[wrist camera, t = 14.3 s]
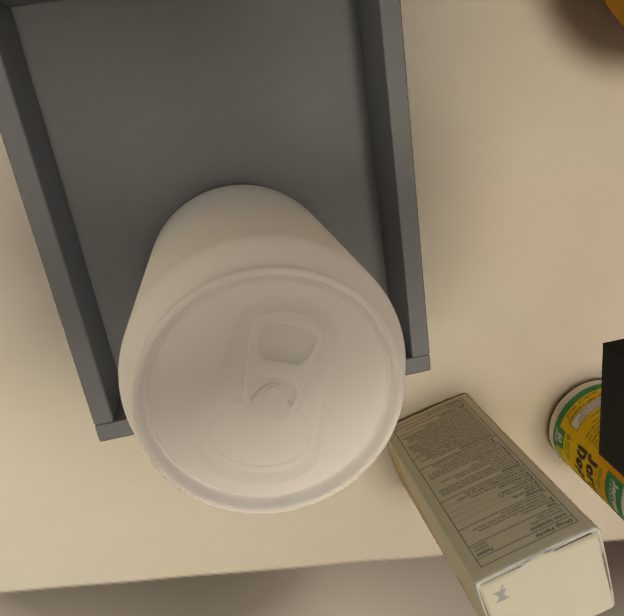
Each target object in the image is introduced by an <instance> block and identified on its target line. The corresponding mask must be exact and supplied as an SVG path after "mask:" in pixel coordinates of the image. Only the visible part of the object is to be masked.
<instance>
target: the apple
mask: <svg viewBox="0 0 624 616" xmlns="http://www.w3.org/2000/svg"><path fill="white" fill-rule="evenodd" d="M604 2H605V3H606V5H607V6H608V8H609V9H610V11H611V12H612V13H613V14H614V16H615V17H616V18H617V20H618V21H619V22H620V23H621V25H622V26H623V27H624V0H604Z"/></svg>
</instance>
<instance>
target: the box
mask: <svg viewBox="0 0 624 616" xmlns="http://www.w3.org/2000/svg"><path fill="white" fill-rule="evenodd" d="M387 444H388V447H389V450H390V452H391V455H392V458H393V460H394V463H395V465H396V468H397V470H398V473H399V475H400V478H401V480H402V482H403V484H404V486H405V488H406V490H407V492H408V494H409V495H410V497H411V499H412V500H413V502H414V504H415V505H416V507H417V509H418V511H419V513H420V514H421V516H422V518H423V520H424V521H425V523H426V525H427V526H428V528H429V530H430V532H431V533H432V535H433V537H434V538H435V540H436V542H437V544H438V545H439V547H440V549H441V551H442V552H443V554H444V556H445V558H446V559H447V561H448V563H449V564H450V566H451V568H452V570H453V572H454V573H455V575H456V577H457V579H458V580H459V582H460V584H461V586H462V587H463V589H464V591H465V593H466V595H467V596H468V598H469V600H470V601H471V603H472V605H473V607H474V608H475V610H476V612H477V613H478V615H479V616H595V615H597V614H599V613H602V612H604V611H606V610H608V609H610V608H612V607H613V606H614V596H613V590H612V585H611V579H610V574H609V569H608V564H607V559H606V554H605V549H604V545H603V540H602V536H601V531H600V529H599V528H598V527H597V526H596V525H595V524H594V523H593V522H592V521H591V520H590V519H589V518H588V517H587V516H586V515H585V514H584V513H583V512H582V511H581V510H580V509H579V508H578V507H577V506H576V505H575V504H574V503H573V502H572V501H571V500H570V499H569V498H568V497H567V496H566V495H565V494H564V493H563V492H562V491H561V490H560V489H559V488H558V487H557V486H556V485H555V484H554V483H553V482H552V481H551V479H550V478H549V477H548V476H547V475H546V474H545V473H544V472H543V471H542V470H541V469H540V468H539V467H538V466H537V465H536V464H535V463H534V462H533V461H532V460H531V459H530V458H529V457H528V456H527V455H526V454H525V453H524V452H523V451H522V450H521V449H520V448H519V447H518V446H517V445H516V444H515V443H514V442H513V441H512V440H511V439H510V438H509V437H508V436H507V435H506V434H505V433H504V432H503V431H502V429H501V428H500V427H499V426H498V425H497V424H496V423H495V422H494V421H493V420H492V419H491V418H490V417H489V416H488V415H487V414H486V413H485V412H484V411H483V410H482V409H481V408H480V407H479V406H478V405H477V404H476V403H475V401H474V400H473V399H472V398H471V397H470V396H469V395H468V394H462V395H459V396H457V397H454V398H452V399H449V400H447V401H444V402H442V403H440V404H437V405H435V406H433V407H431V408H429V409H427V410H425V411H422V412H420V413H418V414H415V415H413V416H411V417H409V418H407V419H404V420H402V421H401V422H399V423H397V424H396V426H395V429H394V431H393V433H392V435H391V437H390V439H389V441H388V443H387Z"/></svg>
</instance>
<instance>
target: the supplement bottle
mask: <svg viewBox="0 0 624 616" xmlns="http://www.w3.org/2000/svg"><path fill="white" fill-rule="evenodd" d="M601 384H602V380H596V381H590V382H587V383H584V384H582V385H580V386H578V387H576V388H575V389H573V390H572V391H570V392H569V393H568V394H567V395H566V396H565V397H564V398H563V399H562V400H561V401H560V402H559V404H558V405H557V407H556V409H555V411H554V413H553V415H552V418H551V422H550V428H549V437H550V441H551V444H552V446H553V448H554V450H555V451H556V453H557V454H558V455H559V456H560V457H561V458H562V459H563V460H564V461H565V462H566V463H567V464H568V465H569V466H570V467H571V468H572V469H573V470H574V471H575V472H576V473H577V474H578V475H579V476H580V477H581V478H582V479H583V480H584V481H585V482H586V483H587V484H588V485H589V486H590V487H591V488H592V489H593V490H594V491H595V492H596V493H597V494H598V495H599V496H600V497H601V498H602V499H603V500H604V501H605V502H606V503H607V504H608V505H609V506H610V507H611V508H612V509H613V510H614V511H615V512H616V513H617V514H618V515H619V516H620V517H621V518H622V519H623V520H624V477H623V476H622V475H621V474H620V473H619V472H618V471H617V470H616V469H615V468H613V467H612V466H611V465H610V464H609V463H608V462H607V461H606V460H605V459H604V458H603V457H602V456H600V455H599V431H600V408H601Z"/></svg>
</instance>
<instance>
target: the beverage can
mask: <svg viewBox="0 0 624 616" xmlns="http://www.w3.org/2000/svg"><path fill="white" fill-rule="evenodd" d="M405 367H406V355H405V344H404V338H403V334H402V330H401V326H400V323H399V320H398V317H397V315H396V312H395V310H394V308H393V306H392V304H391V302H390V300H389V299H388V297H387V295H386V294H385V292H384V291H383V289H382V288H381V287H380V285H379V284H378V283H377V282H376V281H375V279H374V278H373V277H372V276H371V275H370V274H369V273H368V272H367V271H366V270H365V269H364V268H363V267H362V266H361V265H360V264H359V263H358V262H357V260H356V259H355V258H354V257H353V256H352V255H351V254H350V253H349V252H348V251H347V250H346V249H345V248H344V247H343V246H342V245H341V244H340V243H339V242H338V241H337V240H336V239H335V238H334V237H333V236H332V234H331V233H330V232H329V231H328V230H327V229H326V228H325V227H324V226H323V225H322V224H321V223H320V222H319V221H318V220H317V219H316V218H315V217H314V216H313V215H312V214H311V213H310V212H309V211H308V210H307V209H306V208H305V207H304V206H303V205H301V204H300V203H299V202H297V201H296V200H294V199H293V198H291V197H289V196H287V195H285V194H283V193H281V192H279V191H276V190H273V189H270V188H267V187H262V186H256V185H230V186H224V187H219V188H216V189H212V190H209V191H207V192H204V193H202V194H200V195H198V196H196V197H195V198H193V199H191V200H190V201H188V202H187V203H185V204H184V205H183V206H182V207H180V208H179V209H178V210H177V211H176V212H175V213H174V214H173V215H172V216H171V217H170V218H169V220H168V221H167V222H166V224H165V225H164V227H163V228H162V230H161V231H160V233H159V235H158V237H157V239H156V241H155V244H154V246H153V249H152V252H151V255H150V258H149V261H148V264H147V267H146V270H145V273H144V276H143V279H142V283H141V286H140V289H139V292H138V295H137V298H136V301H135V304H134V307H133V310H132V313H131V316H130V319H129V322H128V325H127V328H126V331H125V334H124V337H123V341H122V345H121V350H120V356H119V365H118V380H119V390H120V396H121V401H122V405H123V409H124V412H125V415H126V417H127V420H128V422H129V425H130V427H131V429H132V431H133V433H134V434H135V436H136V438H137V439H138V441H139V442H140V444H141V445H142V447H143V449H144V451H145V453H146V454H147V456H148V457H149V459H150V460H151V462H152V463H153V465H154V466H155V467H156V468H157V470H158V471H159V472H160V473H161V474H162V475H163V476H164V477H165V478H166V479H167V480H168V481H169V482H170V483H171V484H173V485H174V486H175V487H177V488H178V489H179V490H181V491H182V492H184V493H185V494H187V495H189V496H190V497H192V498H194V499H196V500H198V501H200V502H203V503H205V504H208V505H210V506H213V507H216V508H220V509H224V510H228V511H233V512H240V513H250V514H267V513H278V512H285V511H290V510H294V509H298V508H302V507H305V506H308V505H311V504H314V503H316V502H319V501H321V500H323V499H325V498H327V497H329V496H331V495H333V494H335V493H337V492H338V491H340V490H342V489H343V488H345V487H346V486H348V485H349V484H350V483H352V482H353V481H354V480H355V479H357V478H358V477H359V476H360V475H361V474H362V473H364V472H365V471H366V470H367V469H368V468H369V466H370V465H371V464H372V463H373V462H374V461H375V460H376V458H377V457H378V456H379V455H380V453H381V452H382V450H383V449H384V447H385V446H386V444H387V443H388V441H389V439H390V437H391V435H392V433H393V431H394V429H395V426H396V424H397V421H398V418H399V415H400V412H401V408H402V403H403V396H404V378H405Z"/></svg>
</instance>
